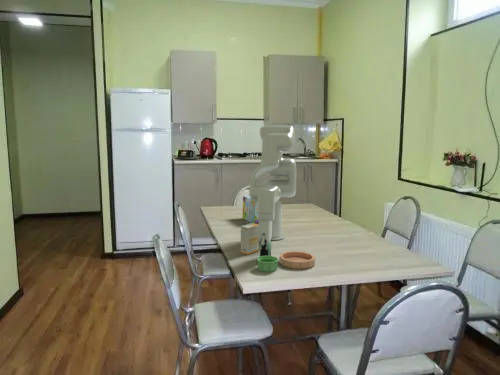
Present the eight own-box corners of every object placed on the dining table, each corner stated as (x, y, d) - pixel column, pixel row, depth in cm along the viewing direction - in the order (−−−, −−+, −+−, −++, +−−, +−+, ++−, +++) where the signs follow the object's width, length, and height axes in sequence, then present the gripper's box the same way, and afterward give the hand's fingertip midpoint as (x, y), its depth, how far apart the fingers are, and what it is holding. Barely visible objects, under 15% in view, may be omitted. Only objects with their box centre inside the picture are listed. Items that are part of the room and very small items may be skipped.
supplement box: (251, 249, 196) (251, 222, 194) (259, 251, 193) (259, 224, 191) (240, 253, 189) (240, 225, 187) (247, 255, 186) (248, 227, 184)
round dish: (282, 256, 185) (282, 250, 184) (315, 259, 181) (316, 252, 181) (277, 267, 170) (277, 260, 170) (313, 270, 167) (313, 263, 166)
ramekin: (265, 274, 162) (265, 263, 161) (252, 268, 169) (252, 257, 168) (282, 270, 167) (283, 259, 166) (269, 264, 174) (269, 254, 174)
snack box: (262, 224, 247) (263, 200, 245) (254, 225, 245) (254, 200, 243) (249, 217, 266) (250, 195, 264) (241, 218, 264) (242, 195, 262)
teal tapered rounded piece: (260, 256, 184) (261, 239, 183) (271, 257, 183) (272, 240, 182) (258, 260, 179) (258, 242, 178) (269, 260, 178) (270, 243, 177)
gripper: (261, 211, 188) (260, 250, 190) (253, 219, 171) (253, 261, 174) (277, 212, 186) (276, 251, 188) (271, 220, 169) (270, 262, 172)
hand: (265, 255), depth 181 cm, fingers closed on teal tapered rounded piece, 5 cm apart
